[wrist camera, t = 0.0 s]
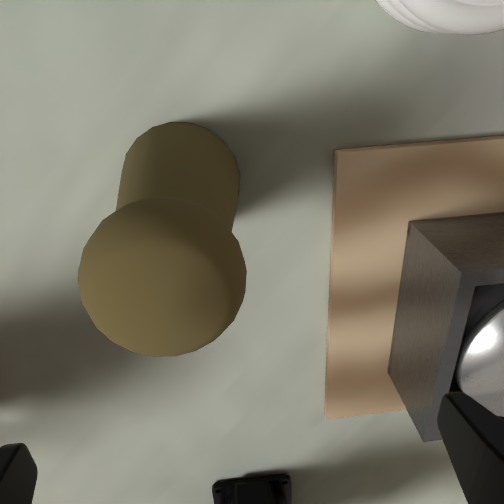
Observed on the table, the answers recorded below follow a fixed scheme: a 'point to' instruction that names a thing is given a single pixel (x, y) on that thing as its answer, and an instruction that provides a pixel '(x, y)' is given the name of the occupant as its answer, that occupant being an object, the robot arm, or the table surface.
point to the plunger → (484, 361)
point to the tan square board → (390, 250)
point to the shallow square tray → (442, 306)
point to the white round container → (448, 15)
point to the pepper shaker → (168, 246)
